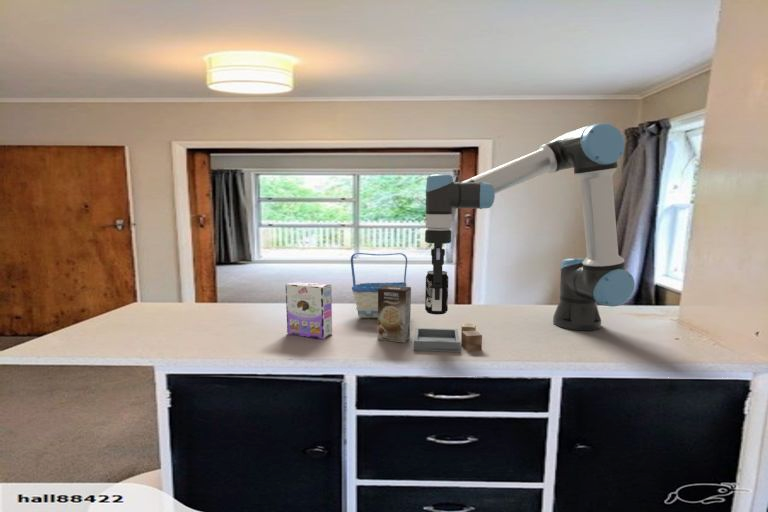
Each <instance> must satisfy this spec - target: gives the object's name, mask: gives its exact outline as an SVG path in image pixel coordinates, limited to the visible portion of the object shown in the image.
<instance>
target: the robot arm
mask: <svg viewBox="0 0 768 512" xmlns="http://www.w3.org/2000/svg"><path fill="white" fill-rule="evenodd" d="M625 146H626V144H625V138H624V135H623V134H622V132H621V131H620V129H619V128H617V127H616V126H614V125H613V124H611V123H605V122H601V123H594V124H589V125H587V126H583V127H580V128H578V129H573V130H570V131H568V132H566V133H564V134H563V135H560V136H558V137H556V138H555V139H553V140H551V141H548V142H547V143H544V144H542V145H540V146H539V148H538V150H536V151H533V152H531V153H528V154H526V155H523V156H521V157H519V158H516V159H514V160H511V161H509V162H507V163H504V164H501V165H499V166H497V167H494V168H492V169H490V170H487V171H485V172H483V173H479V174H478V175H475V176H473V177H471V178H468V179H465V180H463V181H460V182H459V181H455V180H454V177H453V175H451V174H440V173H439V174H429V175H428V176H427V178H426V186H425V216H424V217H423V219H422V220H423V221H425V229H426V230H425V231H424V232H425V233H424V242H425V243H427V244H433V247H432V248H430V256H431V265H432V266H433V267H432V271H433V286H430V288H432V311H442V271H443V266H444V263H445V255H446V250H445V248H443V245H444V244H450V243H451V242H452V230H451V229H452V228H453V209H474V210H475V209H476V210H477V209H479V210H483V209H484V210H485V209H490V208H491V207H492V206H493V205H494V203H495V198H496V197H495V196H496V195H495V194H497V193H500V192H503V191H505V190H507V189H509V188H512V187H514V186H517V185H519V184H522V183H524V182H526V181H529V180H532V179H535V178H536V177H538V176H541V175H543V174H545V173H548V174H554V173H556V172H559V171H562V170H568V169H573V172H574V175H575V176H576V177H577V178H578V179H579V180H580V191H581V201H582V212H583V213H582V215H583V223H584V224H583V225H584V226H583V227H584V237H585V246H586V247H585V249H586V257H585V258H580V257H579V258H565V259H563V260H562V261H561V267H560V281H559V282H560V284H559V285H560V286H559V289H560V290H559V302H558V304H557V305H556V309H555V311H554V313H553V317H552V323H553V324H554V325H555V326H557V327H560V328H564V329H568V330H574V331H583V332H584V331H585V332H586V331H597V330H599V329H601V328H602V319H601V315H600V311H599V307H598V305H600V306H607V307H611V308H612V307H617V306H621V305H623V304H625V303H626V302H627V301H628V299H629V298H631V297H632V295H633V293H634V291H635V286H636V284H635V283H636V282H635V279H634V277H633V275H632V274H631V273H630V272H629V271H628V270H626V265H625V259H624V258H623V257H622V256H621V255H619V248H618V235H617V221H616V220H617V218H616V208H615V207H616V205H615V193H614V182H613V175H614V173H615V172H616V171H617V170H618V161H619V159H621V157H622V155H623V154H624V151H625Z"/></svg>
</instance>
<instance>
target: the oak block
mask: <svg viewBox="0 0 768 512" xmlns="http://www.w3.org/2000/svg"><path fill="white" fill-rule="evenodd" d="M462 331H477V324H476V323H469V322H463V323H462V325H461V337H460V338H461V339H460V340H462Z"/></svg>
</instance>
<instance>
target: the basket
mask: <svg viewBox="0 0 768 512" xmlns="http://www.w3.org/2000/svg"><path fill="white" fill-rule="evenodd" d="M355 255H367V256H368V255H369V256H394V255H396V256H397V255H402V256H403V257H404V258H405V265H404V277H403V281H402V282H395V281H394V282H367V283H366V282H365V283H359V284H358V283H357V282H356V274H355V267H354V266H355V265H354V257H355ZM350 265H351V266H350V267H351V274H352V275H351V276H352V286H351V290H352V294H353V298H354V299H353V300H354V301H355V305H356V311H357V314H358V317H359V319H360V318H361V319H363V318H364V319H365V318H369V319H370V318H371V319H374V318H375V319H378V288H380V287H381V286H383V285H393V286H404V287H407V283H406V282H407V281H406V279H407V277H406V276H407V267H408V257H407V255H406V254H404V253H402V252H397V253H368V252H367V253H365V252H356V253H353V254H352V255H351V257H350ZM356 283H357V284H356Z"/></svg>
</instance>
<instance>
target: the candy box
mask: <svg viewBox="0 0 768 512" xmlns="http://www.w3.org/2000/svg"><path fill="white" fill-rule="evenodd" d="M332 301H333V300H332V284H331V283H316V282H308V281H307V282H306V281H296V280H295V281H292V282H288V283H285V303H286V304H285V305H286V309H285V310H286V333H288V334H287V335H290V334H294V335H293V336H297V335H300V336H299V337H304V336H306V337H307V338H313V339H319V340H320V339H321V340H323V339H326V338H328V337H330V336H332V335H333V307H332V306H333V303H332ZM306 337H305V338H306Z"/></svg>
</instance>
